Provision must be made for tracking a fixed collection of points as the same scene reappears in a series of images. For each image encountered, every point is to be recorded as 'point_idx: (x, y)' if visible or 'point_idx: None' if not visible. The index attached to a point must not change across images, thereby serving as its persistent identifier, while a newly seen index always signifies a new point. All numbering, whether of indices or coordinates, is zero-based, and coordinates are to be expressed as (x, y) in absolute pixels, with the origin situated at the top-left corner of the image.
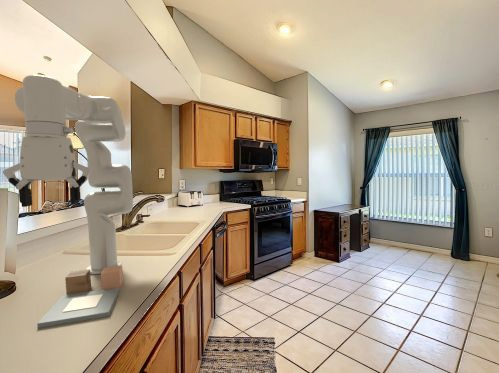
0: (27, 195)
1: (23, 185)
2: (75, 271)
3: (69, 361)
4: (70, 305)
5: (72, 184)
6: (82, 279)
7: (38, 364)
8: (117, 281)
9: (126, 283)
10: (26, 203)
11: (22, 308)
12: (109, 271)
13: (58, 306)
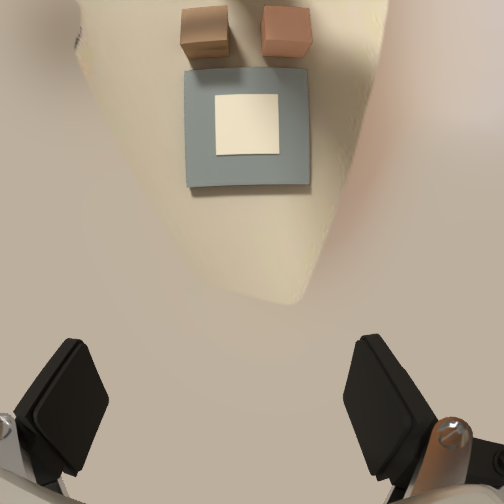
0: (79, 427)
1: (66, 494)
2: (192, 11)
3: (277, 291)
4: (222, 129)
5: (396, 492)
6: (220, 44)
7: (238, 286)
8: (300, 51)
9: None
10: (101, 403)
11: (122, 96)
12: (286, 35)
13: (196, 124)
